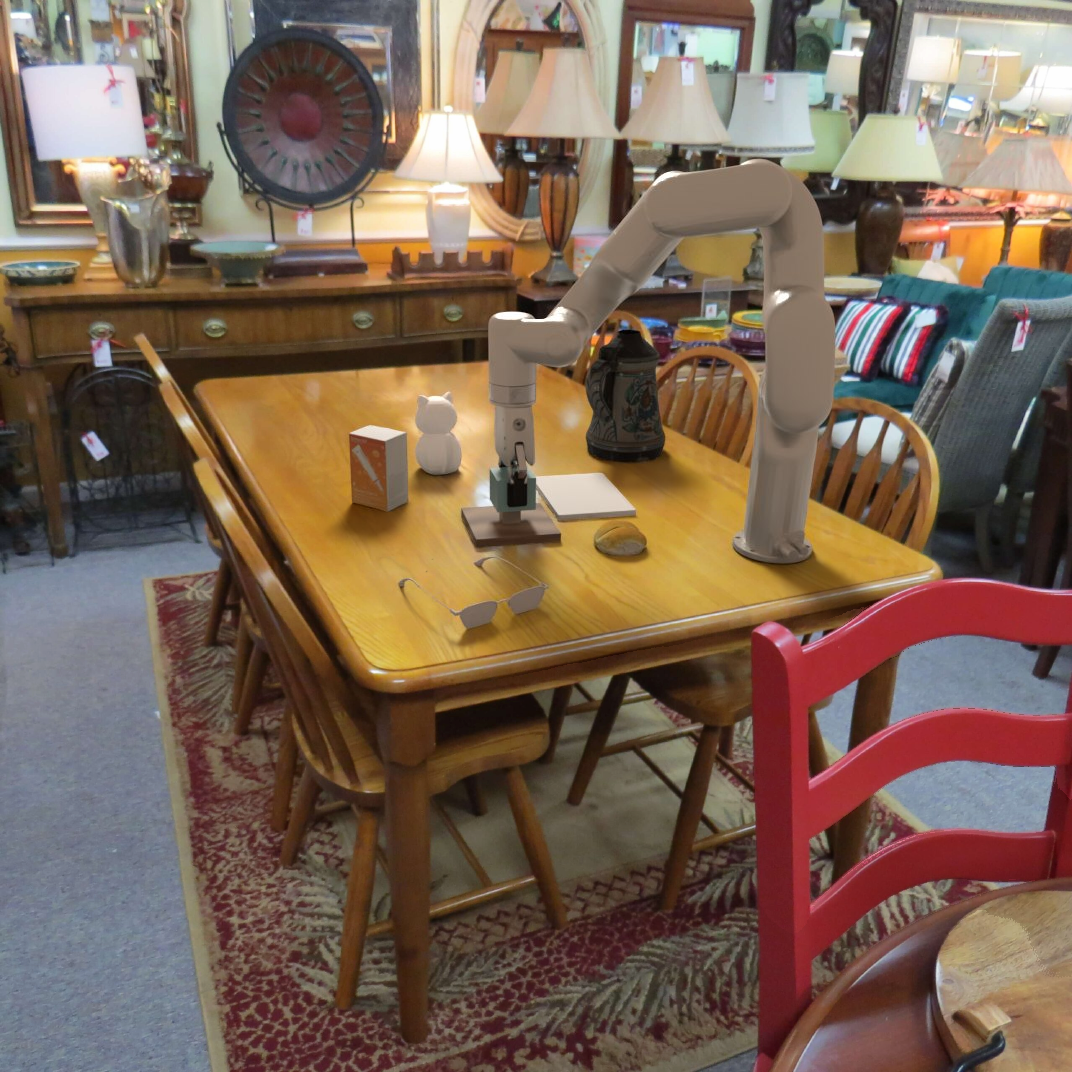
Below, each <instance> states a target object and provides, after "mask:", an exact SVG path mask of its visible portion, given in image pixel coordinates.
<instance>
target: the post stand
mask: <svg viewBox="0 0 1072 1072" xmlns="http://www.w3.org/2000/svg"><path fill="white" fill-rule="evenodd" d="M460 512H461V513H460V515H461V518H462V520H463V523H464V525H465V527H466V528H467V532H468V534H469V536H470V538H471V540H472V543H473V544H474V546H475V548H476V549H481V548H494V547H509V546H511V547H512V546H523V545H535V544H549V543H551V544H552V543H560V542H562V532H561V530H560V529H559V528H558V527H557V525H556V523H555V522H554V521H553V519H552V518H551V516H550V515H549V514H548V512H547V510H546V509H545V507H544V506H543V505H542V503H541V502H536V510H525V511H512V512H499V513H497V511H496V509H495V507H494V506H493V505H488V506H484V505H483V506H471V507H461V511H460Z"/></svg>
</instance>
